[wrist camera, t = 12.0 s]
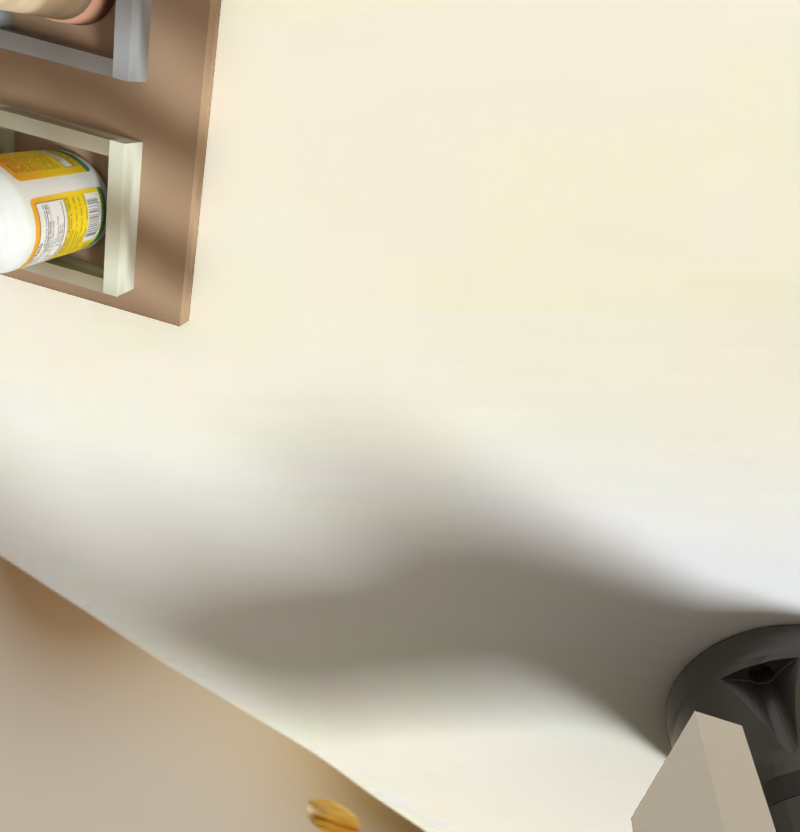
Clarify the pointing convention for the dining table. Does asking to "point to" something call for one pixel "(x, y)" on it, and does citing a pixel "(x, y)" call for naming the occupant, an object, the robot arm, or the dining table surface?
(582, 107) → the dining table surface
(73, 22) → the beech dowel
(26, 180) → the supplement bottle
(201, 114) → the socket board
